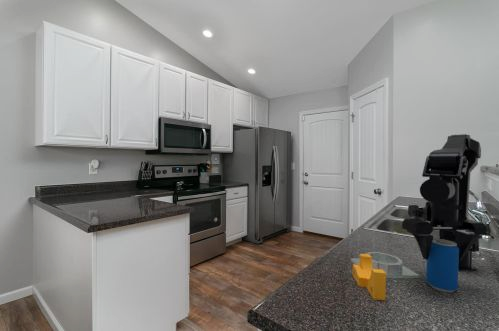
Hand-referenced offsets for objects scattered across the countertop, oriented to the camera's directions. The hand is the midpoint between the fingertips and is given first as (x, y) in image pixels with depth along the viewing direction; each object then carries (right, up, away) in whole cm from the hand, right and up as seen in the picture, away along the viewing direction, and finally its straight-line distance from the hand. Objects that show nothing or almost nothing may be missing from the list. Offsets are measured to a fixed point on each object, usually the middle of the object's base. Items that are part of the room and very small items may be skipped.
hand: (442, 259), depth 63 cm
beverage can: (0, -8, 0) cm, 8 cm away
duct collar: (-10, -7, +10) cm, 16 cm away
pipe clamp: (-20, -7, -1) cm, 21 cm away
